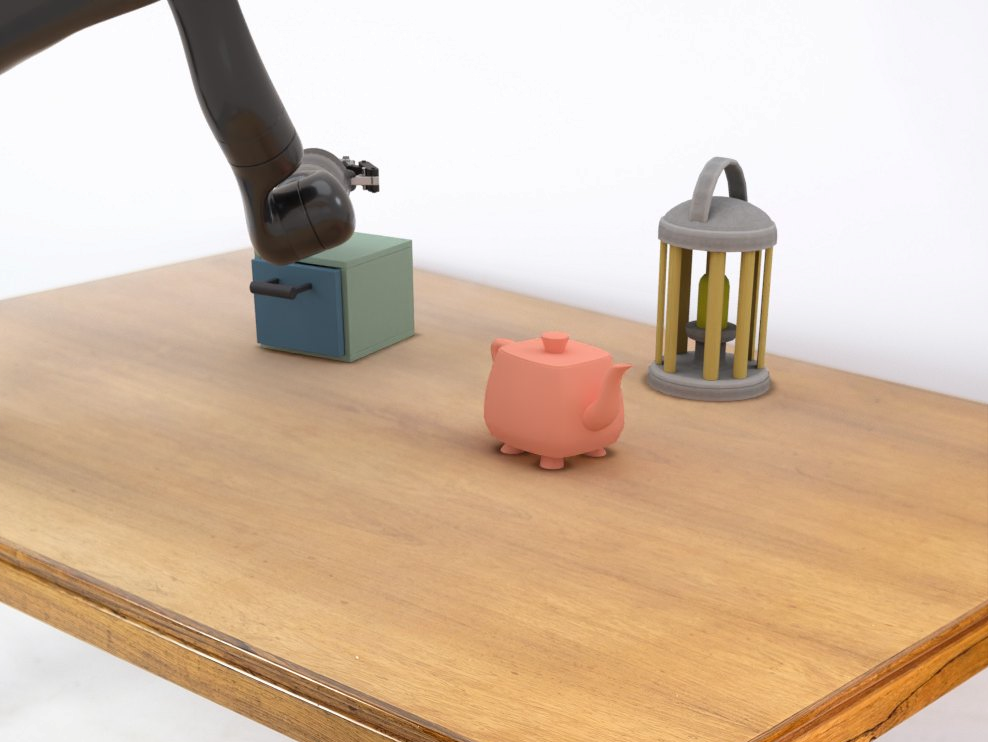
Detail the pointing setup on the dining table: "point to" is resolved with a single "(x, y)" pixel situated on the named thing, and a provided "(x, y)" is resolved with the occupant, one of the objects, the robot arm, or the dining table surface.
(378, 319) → the small cabinet
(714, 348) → the lantern
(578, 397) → the teapot
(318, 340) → the drawer
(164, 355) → the dining table surface
